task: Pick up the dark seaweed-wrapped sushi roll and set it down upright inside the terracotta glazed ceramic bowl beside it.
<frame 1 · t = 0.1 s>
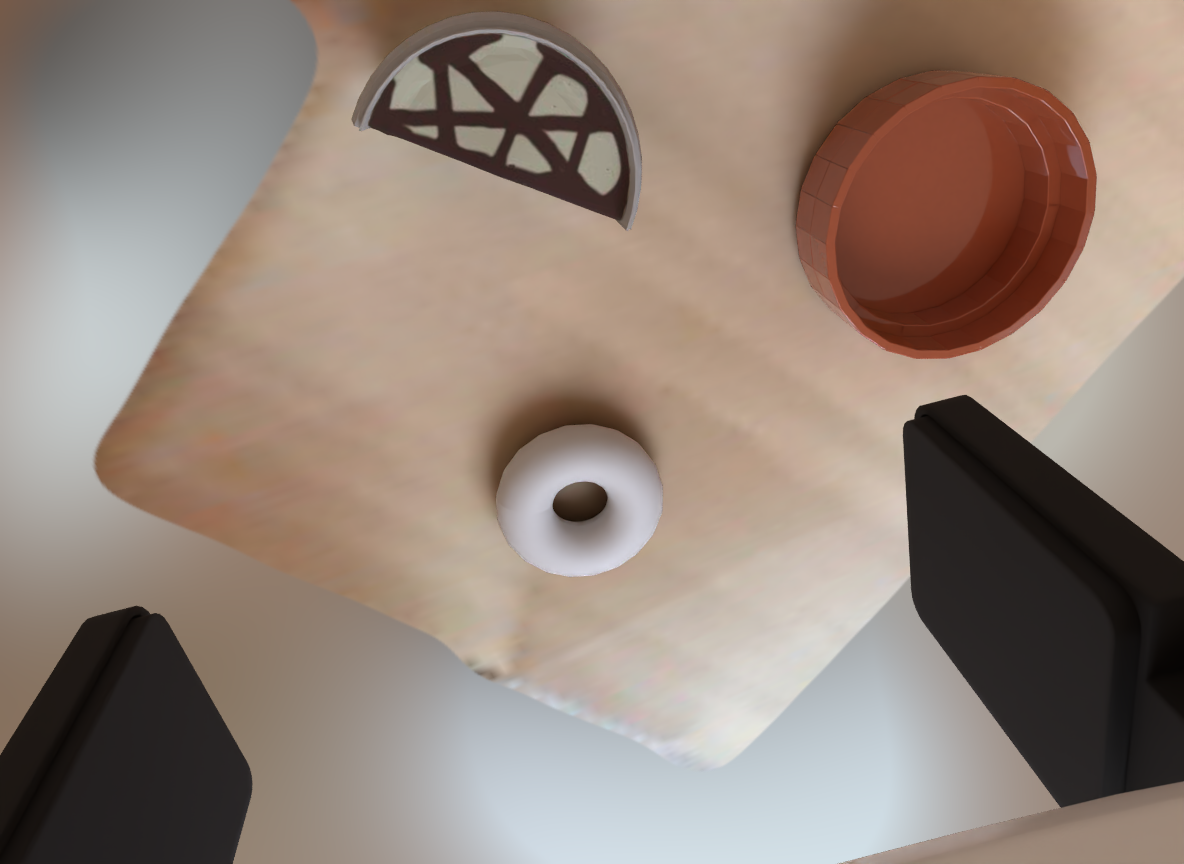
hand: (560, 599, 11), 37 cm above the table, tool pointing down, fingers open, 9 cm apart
donut: (576, 486, 53), on the table
bowl: (915, 207, 48), on the table
food container: (513, 85, 42), on the table
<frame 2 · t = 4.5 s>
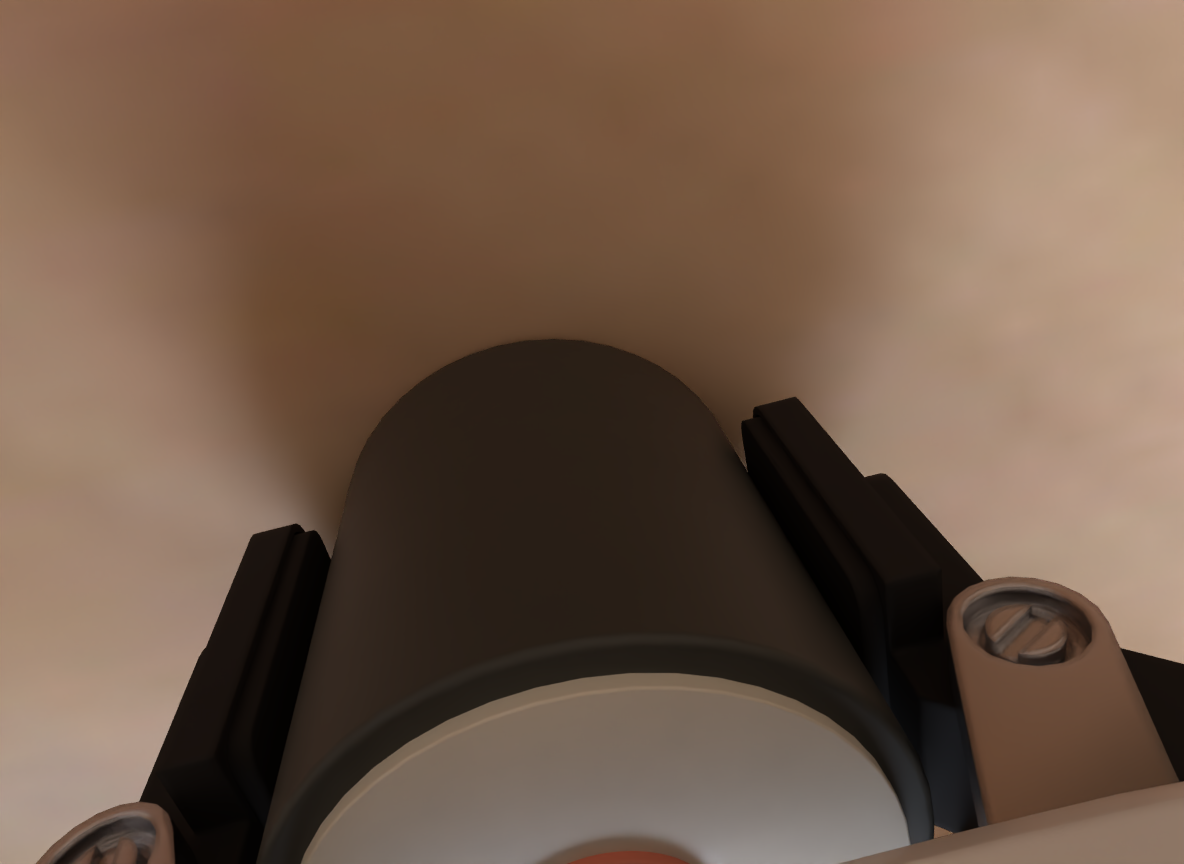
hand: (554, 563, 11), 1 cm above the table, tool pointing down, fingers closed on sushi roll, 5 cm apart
sushi roll: (548, 521, 12), on the table, touching gripper
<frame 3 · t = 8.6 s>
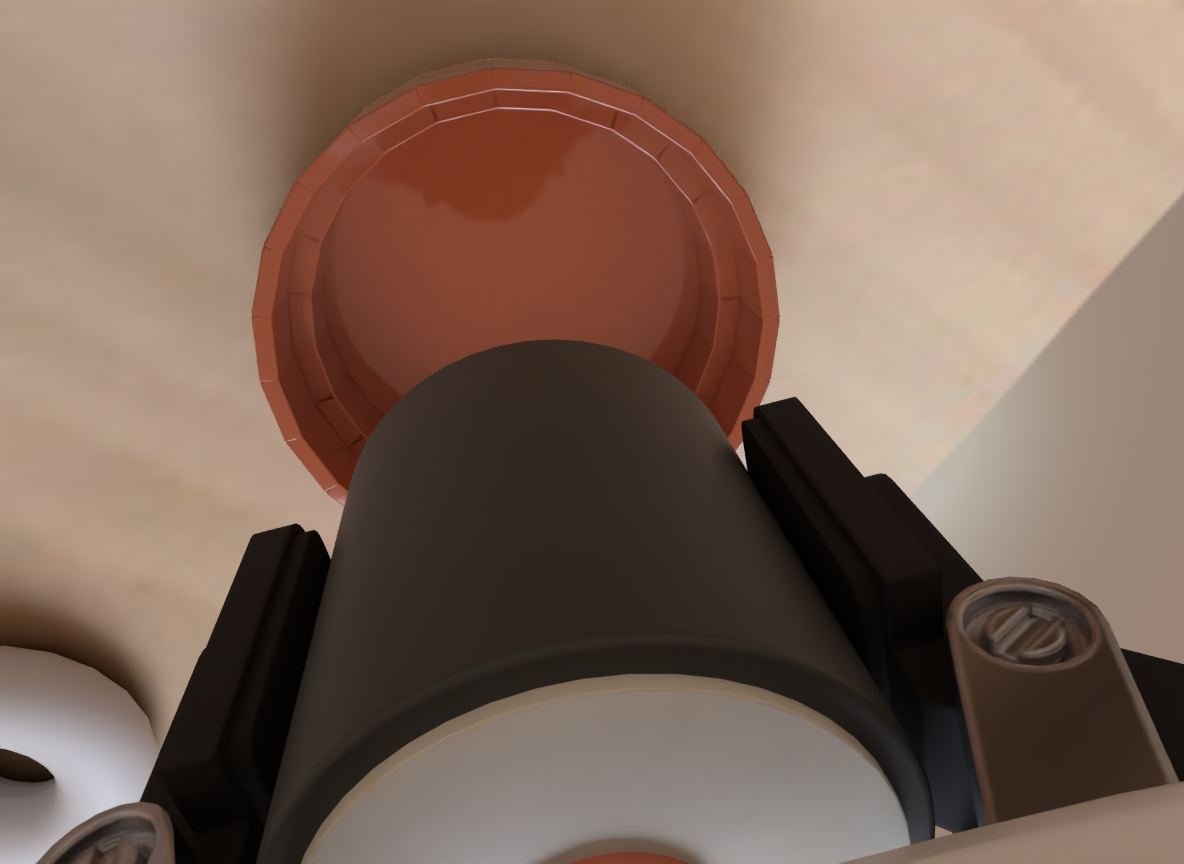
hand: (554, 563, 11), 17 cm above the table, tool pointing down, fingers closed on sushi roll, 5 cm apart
donut: (32, 727, 33), on the table
bowl: (516, 294, 28), on the table
sushi roll: (548, 521, 12), point 16 cm above the table, touching gripper
when the fingers open (2 cm above the table, at t = 12.6 s): sushi roll stays where it is, resting on bowl.
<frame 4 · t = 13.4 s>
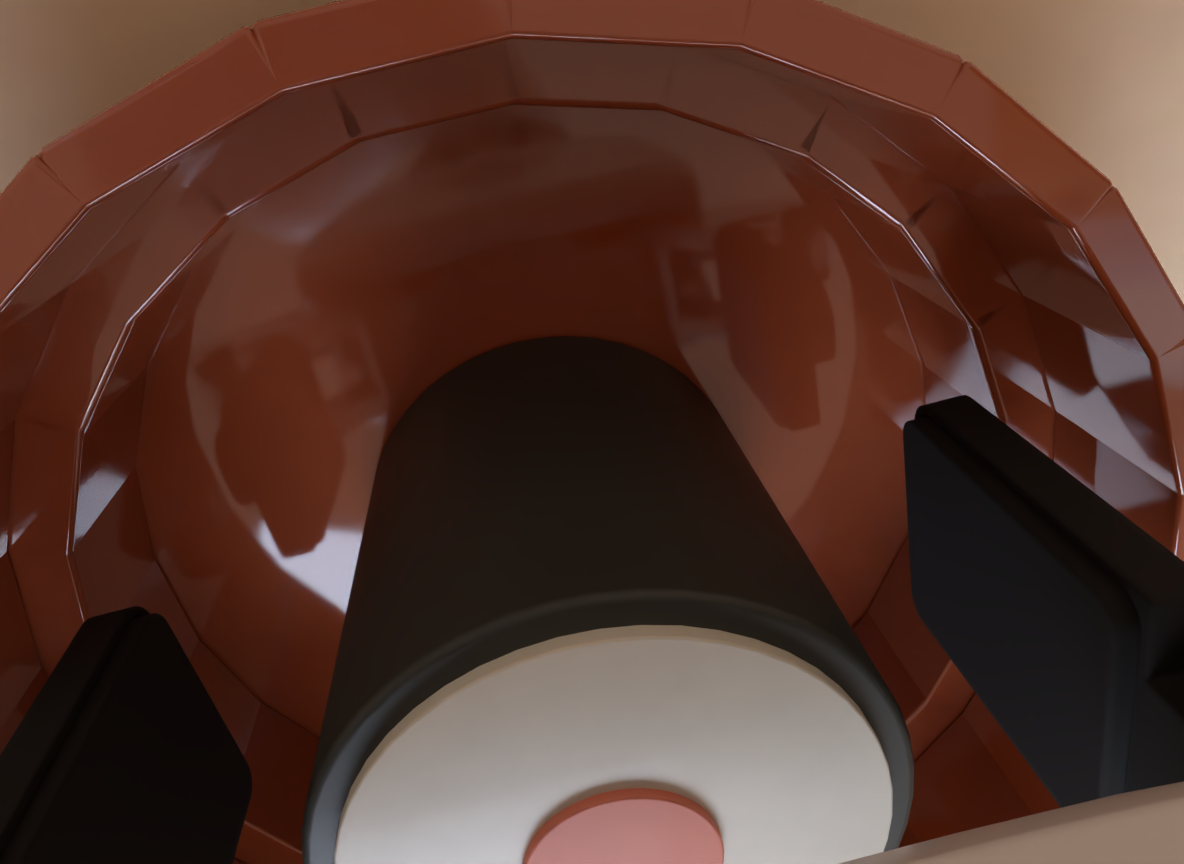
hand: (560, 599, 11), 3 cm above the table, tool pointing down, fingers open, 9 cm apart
bowl: (550, 483, 14), on the table
sushi roll: (560, 507, 13), point 1 cm above the table, touching bowl
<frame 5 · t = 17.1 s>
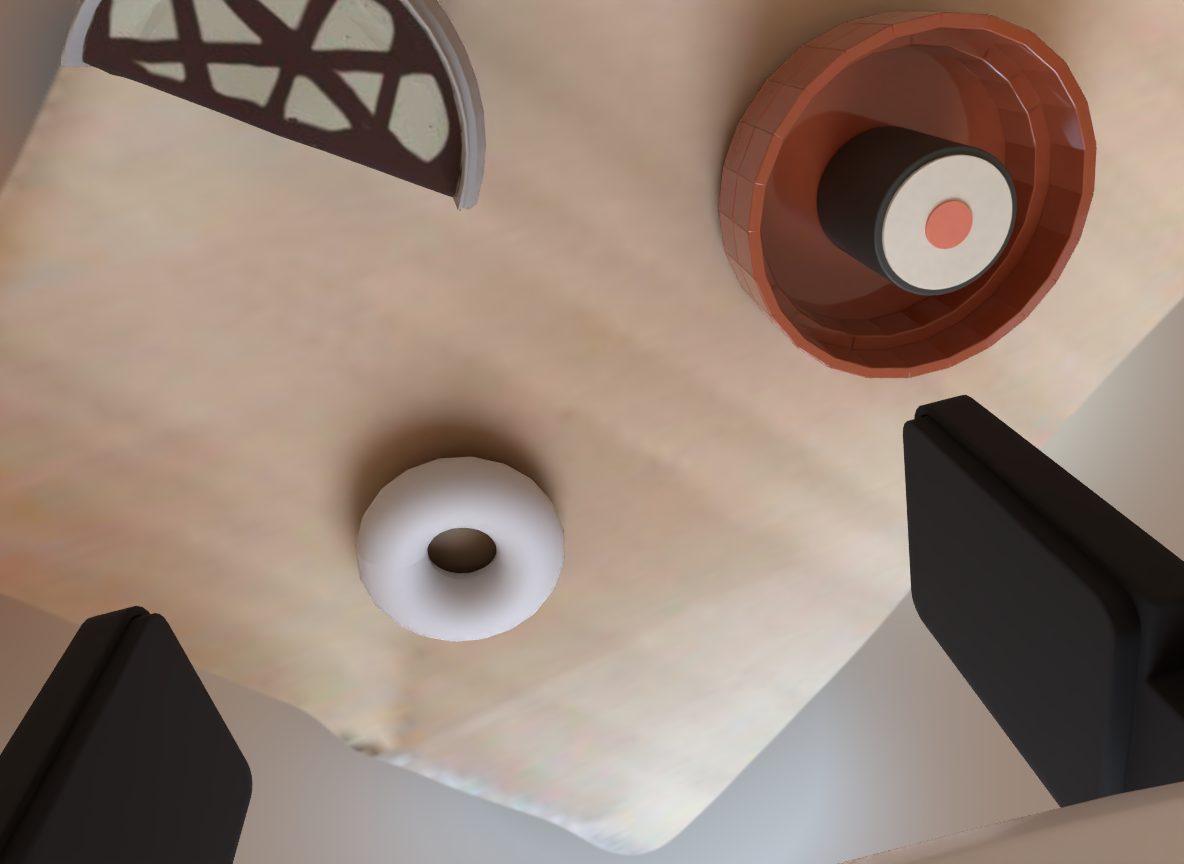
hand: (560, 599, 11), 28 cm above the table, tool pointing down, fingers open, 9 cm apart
donut: (462, 530, 43), on the table
bowl: (870, 188, 38), on the table
sushi roll: (878, 193, 38), point 1 cm above the table, touching bowl
food container: (345, 27, 33), on the table
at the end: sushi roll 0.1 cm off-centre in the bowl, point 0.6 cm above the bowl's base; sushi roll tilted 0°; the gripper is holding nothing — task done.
